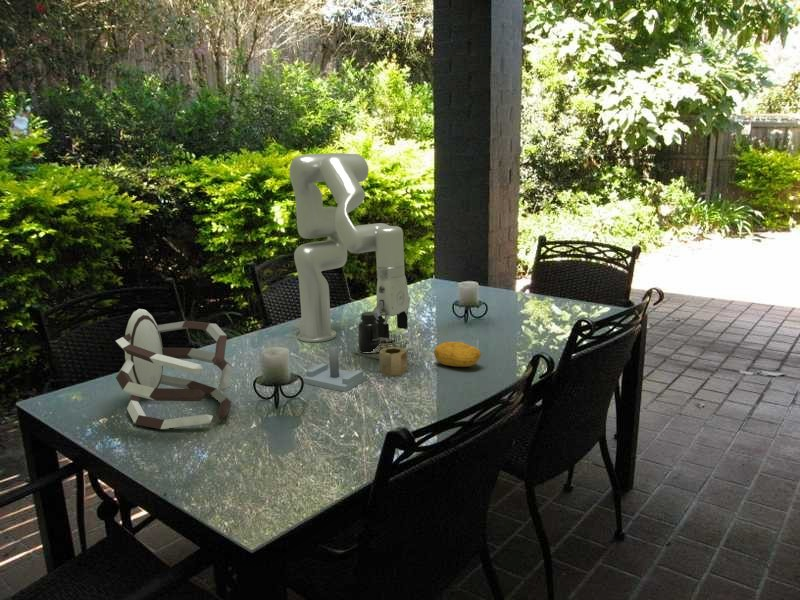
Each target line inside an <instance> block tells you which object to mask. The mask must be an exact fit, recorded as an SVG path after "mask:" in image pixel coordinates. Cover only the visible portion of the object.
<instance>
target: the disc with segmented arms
mask: <svg viewBox="0 0 800 600" xmlns="http://www.w3.org/2000/svg"><path fill="white" fill-rule="evenodd" d="M184 329H193V330H194V329H195V330H201V331H202V330H203V331H205V330H206V332H207V333H208V334H209V335H210V336H211V337H212V339H214V341H215V342H216V343H215V344H216V346H215V352H213V351H208V350H204V349H198V348H195V347H194V348H193V347H163V342H162V341H163V340H162V337H161V333H165V332H171V331H172V332H173V331H177V330H178V331H179V330H184ZM124 334H125V335H124V336H122V337H120V338H118V339H116V340H115V342H116V344H117V345H118V346H119V347H120V348H121V349H122V350H123V351H124V359H125V361H124V363H123V365H122V367H121V368H120V370H119V372H118V374H117V375H116V376H115V379H116V381H117V383H118V385H119V386H120V388H121V390H122V391H123V392H125V393H127V394H129V395H130V398H129V401H128V403H127V406H126V410H127V412H128V414H129V416H130V418H131V419H132V421H133V423H134V422H135V423H136V424H135V425H137V424H140V425H139V426H142V425H143V426H142V427H147V428H154V429H158V430H170V429H169V428H174V429H181V428H187V427H189V428H190V427H193V426H194V427H195V426H196V427H197V426H203V425H210V424H211V422H212V419H213V417H214V415H212V414H211V415H210V414H206V413H205V414H198V415H192V416H190V415H189V416H183V417H176V418H169V419H162V418H157V417H151V416H147V415H146V413H145V411H144V410H143V408H142V406H141V404H140V403H139V401H140V397H141V398H143V399H148V400H152V401H156V402H157V401H158V402H201V401H202V400H203V398H204V397H205V396H208V395H209V396H208V397H211V396H213V397H212V398H214V399H215V400H216V401H217V400H218V401H217V402H219V407H218V409H217V413H216V416H217V417H218V419H220V420H222V419H223V418H224V417H226V416H227V415H228V414H229V410H230V407H231V403H232V402H231V400H230V399H229V398H228V397H227V396H226V395H225V394H224V393H225V392H226V390H227V389H228V387H229V385H230V382H231V377H232V373H233V368H234V367H233V366H232V365H231V364H230V363H229V362H228V361H227V360H226V359H225V355H226V354H225V353H226V345H227V337H228V335H227V334H226V333H225V332H224V331H223V330H222V329H221V327H219V325H218V324H217V323H212V322H200V321H193V320H192V321H191V320H185V321H184V320H183V321H177V322H170V323H164V324H157V322H156V320H155V318H154V317H153V315H152V314H151V313H150V312H149V311H148V310H146V309H143V308H138V309H137V310H134V311H133V312H132V314H131V316H130V318H129V319H128V322H127V325H126V328H125V333H124ZM189 360H195V361H199V362H200V361H201V362H205V363H210V364H213V366H216V367H218V369H219V370H220V371H221V375H220V379H219V384H218V387H217V388H216V387H213V386H210V385H207V384H204V383H201V382H199V381H196V380H191V379H186V378H182V377H181V378H180V377H176V376H171V375H166V374H163V370H164V367H166V368H171V369H175V370H179V371H181V372H186V373H190V374H195V375H199V374H201V373H202V372H203V371H204V368H203V366H202V364H200V363H195V362H191V361H189ZM160 385H164V386H169V387H175V388H167V387H166V388H163V387H162V388H159V387H160ZM222 392H223V393H222Z"/></svg>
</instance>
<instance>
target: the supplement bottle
mask: <svg viewBox="0 0 800 600" xmlns="http://www.w3.org/2000/svg"><path fill="white" fill-rule="evenodd" d="M360 315H361V316H360V320H361V321H360V322H359V323H358V331H357V332H358V351H359V352H360V351H361V352H371V351H373V349H375V348H376V347H377V346H378V345H379V344H380V343H381V344H382V337H379V336H378V323H377V322H376V320H375V316H374V314H373V311H365V312H362V313H361V314H360ZM361 352H360V353H361Z"/></svg>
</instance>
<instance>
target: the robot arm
mask: <svg viewBox="0 0 800 600" xmlns="http://www.w3.org/2000/svg"><path fill="white" fill-rule="evenodd" d="M368 175H369V165H368V162H367V160H366V159H365V158H364V157H363V156H362V155H360V154H357V153H343V152H336V153H335V152H332V153H331V152H330V153H310V154H308V153H307V154H302V155H299V156H296V157H294V158H293V159H292V161H291V162H290V166H289V179H290V182H291V186H292V189H293V192H294V198H295V212H296V213H295V214H296V227H297V232H298V235H299V236H300V237H301V238H303V239H308V240H309V239H311V240H312V239H320V238H327V240H322V241H320V240H319V241H314V242H308V243H307V242H306V243H303V244H301V245H299V246H298V247H296V248H295V250H294V254H293V257H294V259H293V260H294V263H295V268H296V272H297V277H298V278H297V279H298V287H299V301H300V313H301V314H300V316H301V318H300V319H301V321H296V323H295V324H294V326H293V327H294V329H297V330H299V333H298V334H297V338H298V340H300V341H301V342H305V343H307V342H308V343H320V342H321V343H322V342H326V341H327V342H328V341H330V340H333V339H335V338H336V337H337V332H336V331H335V330H334V329H332V321H331V320H332V319H331V303H330V288H329V287H330V285H329V283H328V281H327V279H326V277H325V276H324V275H323V273H322V272H323V271H329V270H335V269H339V268H342V267H343V266H345V265H346V264H347V260H348V252H350V253H352V254H364V253H371V252H375V258H376V259H375V260H376V279H377V282H376V293H375V294H376V295H375V296H376V298H375V299H376V300H375V301H376V306H375V307H374V309H373V310H372V312H373V314H374V316H375V320H376V322H377V323H378V336H379V337H381V339H382V338H383V339H384V338H385V339H389V338H390V324H389V323H388V321H389V318H390V316H391V317H395V316H396V323H397V324H396V326H397V327H396V328H397V329H403V330H408V329H409V323H408V320H409V319H408V318H409V317H408V315H409V308H410V302H411V297H410V296H409V288H408V281H407V277H406V275H405V272H406V271H405V252H404V251H405V249H404V231H403V228H402V227H400V226H396V225H389V224H387V223H384V222H383V223H382V222H381V223H379V222H378V223H377V222H376V223H369V224H360V225H354V223H353V222H352V220H351V218H350V216H349V213H351V212H352V211H353V210H355V209H357V208H358V207H359V206H360V205H361V204H362V203H363V202H364V199H365V198H366V193H365V192H366V191H365V190H364V189H363V187H362V185H361V183H362V182H364V181H366V179H367V178H368ZM319 182H320V183H323V182H325V184H326V186H327V187H328V189H329V191H330V194H331V195H332V197H333V198H334V201H335V202H336V203H337V205H336V206H324V205H323V194H322V191H321V189H320V188H319V187H318V185H317V184H316V183H319Z"/></svg>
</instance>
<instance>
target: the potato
mask: <svg viewBox="0 0 800 600" xmlns="http://www.w3.org/2000/svg"><path fill="white" fill-rule="evenodd" d="M433 354H434V356H435V359H436V360H437V361H438V362H439V363H441V364H442V365H443V366H450V367H454V368H455V367H456V368H465V367H467V368H468V367H472V366H474V365H475V364H477V363H478V361H479V360H480V358H481V355H482V352H481V351H480V349H478V348H477V347H475V346H473V345H470V344H466V343H464V342H462V341H461V342H460V341H444V342H441V343H439V344H438V345H437V346H436V347H435V348H434V351H433Z"/></svg>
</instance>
